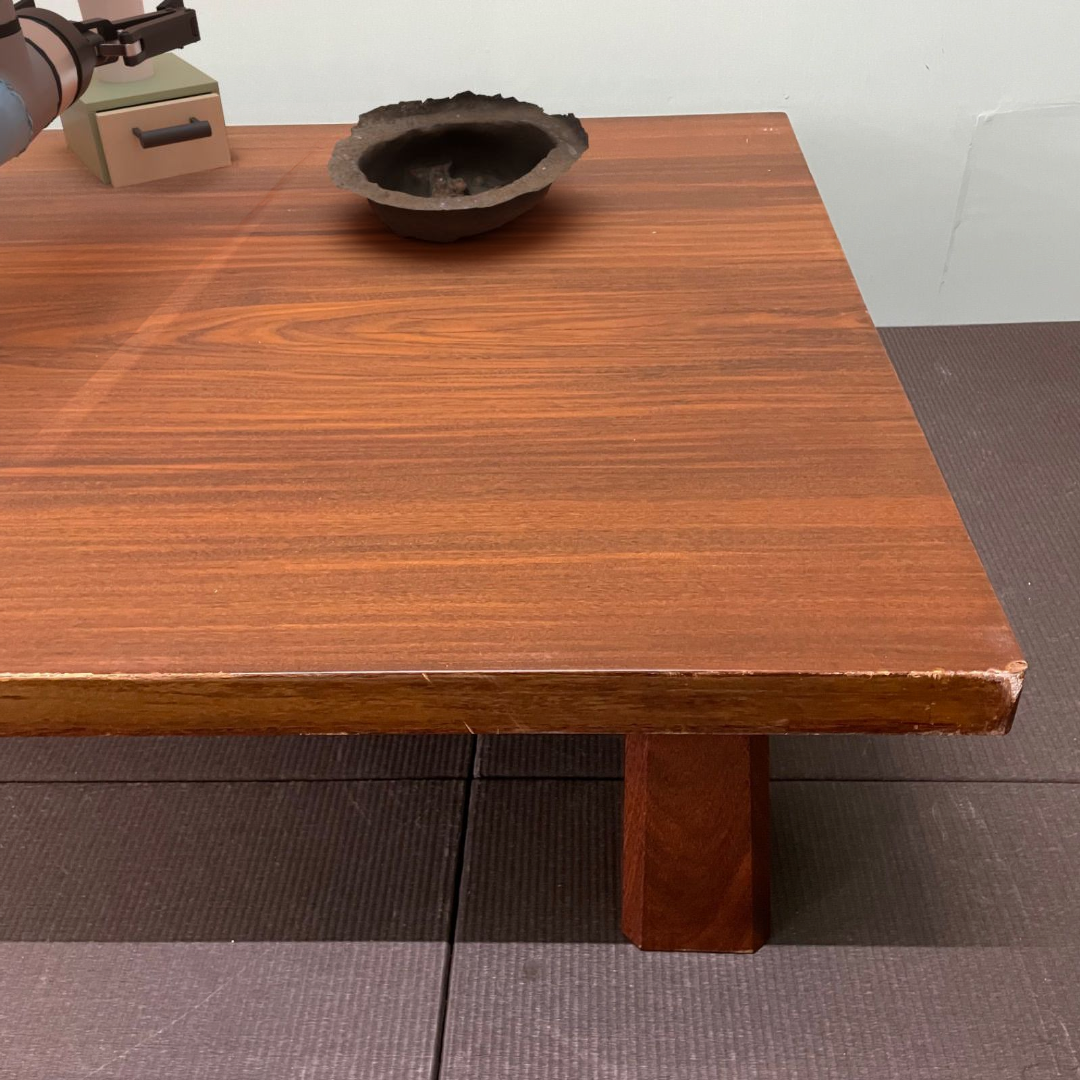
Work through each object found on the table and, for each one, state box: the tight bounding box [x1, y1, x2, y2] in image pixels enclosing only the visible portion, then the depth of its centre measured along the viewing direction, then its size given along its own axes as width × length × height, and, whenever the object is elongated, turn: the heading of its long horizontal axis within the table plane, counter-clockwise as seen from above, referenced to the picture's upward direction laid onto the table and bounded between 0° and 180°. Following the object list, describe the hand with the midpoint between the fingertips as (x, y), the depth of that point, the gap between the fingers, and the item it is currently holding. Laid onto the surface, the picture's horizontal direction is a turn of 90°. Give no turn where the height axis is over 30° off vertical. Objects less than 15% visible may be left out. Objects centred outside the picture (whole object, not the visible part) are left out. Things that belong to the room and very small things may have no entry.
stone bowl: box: [326, 89, 590, 243], centre depth 113 cm, size 25×25×9 cm
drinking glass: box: [77, 0, 154, 83], centre depth 122 cm, size 7×7×10 cm
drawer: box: [95, 93, 233, 189], centre depth 125 cm, size 19×13×8 cm, turn 32°
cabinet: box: [59, 51, 233, 186], centre depth 128 cm, size 16×14×10 cm
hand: (107, 10), depth 108 cm, fingers open, 13 cm apart
